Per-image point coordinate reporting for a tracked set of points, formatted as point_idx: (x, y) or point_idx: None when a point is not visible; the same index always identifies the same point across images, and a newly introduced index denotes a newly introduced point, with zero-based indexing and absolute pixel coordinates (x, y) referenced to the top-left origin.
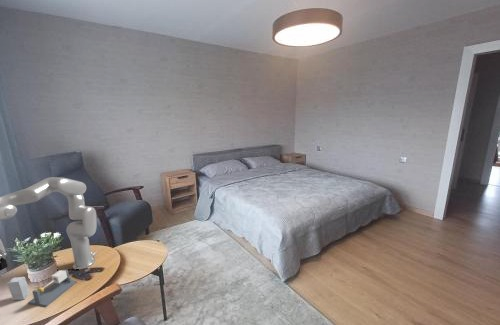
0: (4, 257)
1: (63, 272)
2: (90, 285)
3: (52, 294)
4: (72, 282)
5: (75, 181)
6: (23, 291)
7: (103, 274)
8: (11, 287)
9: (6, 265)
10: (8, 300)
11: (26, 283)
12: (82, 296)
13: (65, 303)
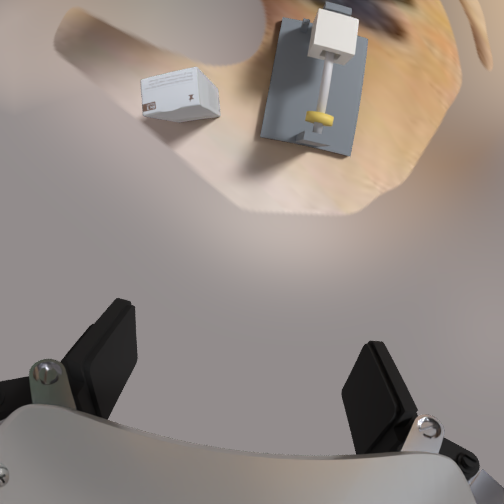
0: (470, 482)
1: (356, 28)
2: (428, 72)
3: (329, 101)
4: (358, 44)
5: None
6: (214, 106)
7: (430, 25)
8: (167, 116)
9: (384, 357)
10: (159, 123)
11: (206, 78)
12: (437, 125)
13: (404, 149)
